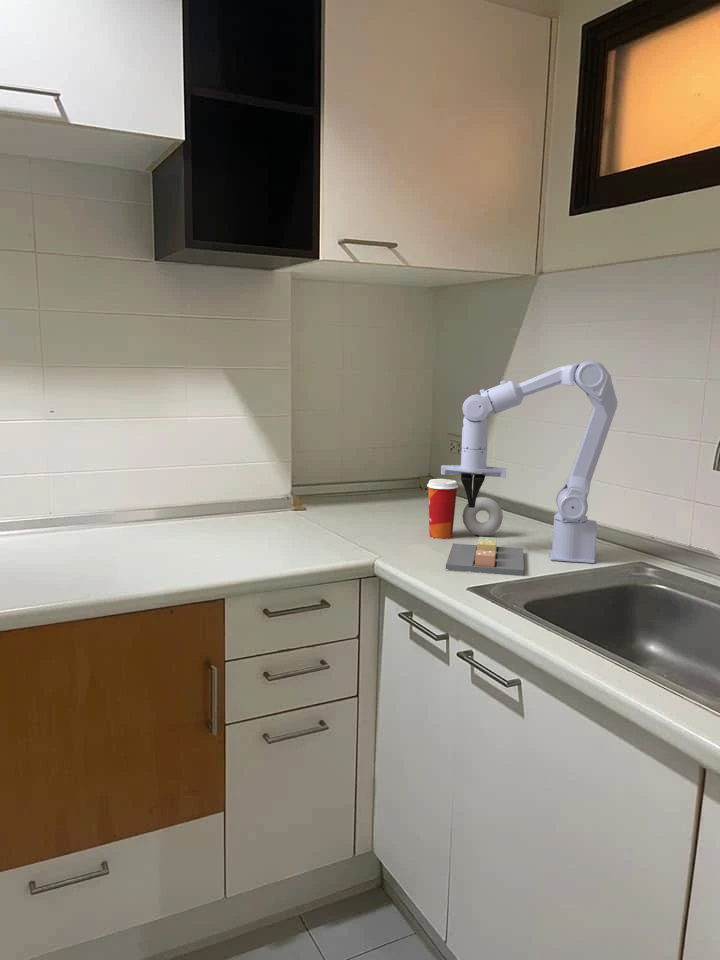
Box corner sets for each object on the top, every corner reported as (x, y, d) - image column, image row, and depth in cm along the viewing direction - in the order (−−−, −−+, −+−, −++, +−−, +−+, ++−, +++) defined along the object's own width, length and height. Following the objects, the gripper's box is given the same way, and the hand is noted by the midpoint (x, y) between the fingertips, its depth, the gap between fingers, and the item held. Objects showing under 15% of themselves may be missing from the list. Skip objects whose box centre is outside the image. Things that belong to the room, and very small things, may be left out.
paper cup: (438, 531, 192) (439, 477, 189) (462, 536, 186) (464, 481, 184) (418, 536, 186) (420, 480, 184) (443, 541, 181) (445, 484, 178)
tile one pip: (496, 551, 172) (496, 537, 171) (495, 555, 168) (496, 541, 167) (478, 550, 173) (479, 536, 172) (477, 554, 169) (478, 540, 168)
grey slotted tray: (522, 553, 172) (523, 548, 171) (523, 575, 154) (523, 570, 154) (452, 548, 175) (453, 543, 175) (445, 570, 157) (445, 564, 157)
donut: (461, 536, 186) (463, 497, 184) (461, 533, 189) (462, 494, 188) (502, 538, 185) (504, 499, 183) (501, 535, 188) (503, 496, 187)
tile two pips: (495, 554, 166) (496, 540, 165) (495, 559, 162) (495, 544, 161) (477, 553, 167) (478, 539, 166) (476, 558, 163) (477, 543, 162)
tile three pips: (494, 565, 160) (495, 550, 160) (493, 570, 156) (494, 555, 156) (475, 564, 161) (476, 549, 160) (474, 569, 157) (475, 554, 157)
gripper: (507, 447, 171) (504, 505, 174) (443, 444, 174) (441, 501, 176) (506, 451, 164) (503, 511, 167) (440, 448, 167) (438, 507, 170)
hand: (471, 506), depth 171 cm, fingers closed
